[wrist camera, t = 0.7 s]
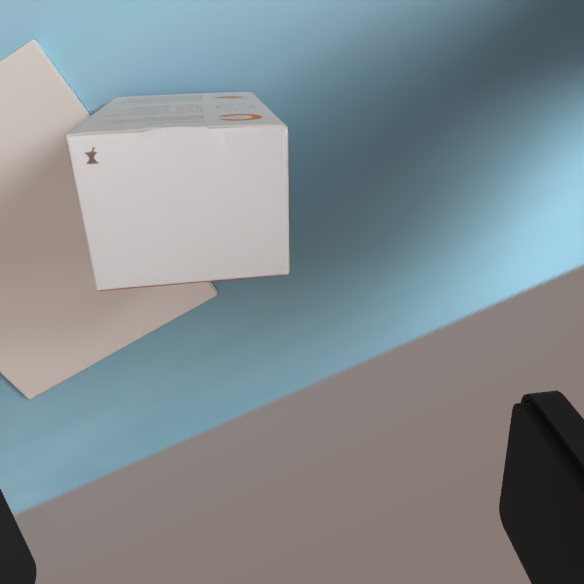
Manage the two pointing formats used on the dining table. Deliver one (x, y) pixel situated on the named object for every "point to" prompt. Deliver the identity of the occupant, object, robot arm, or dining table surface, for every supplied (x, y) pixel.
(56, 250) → the mat
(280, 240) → the small box
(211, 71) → the dining table surface
